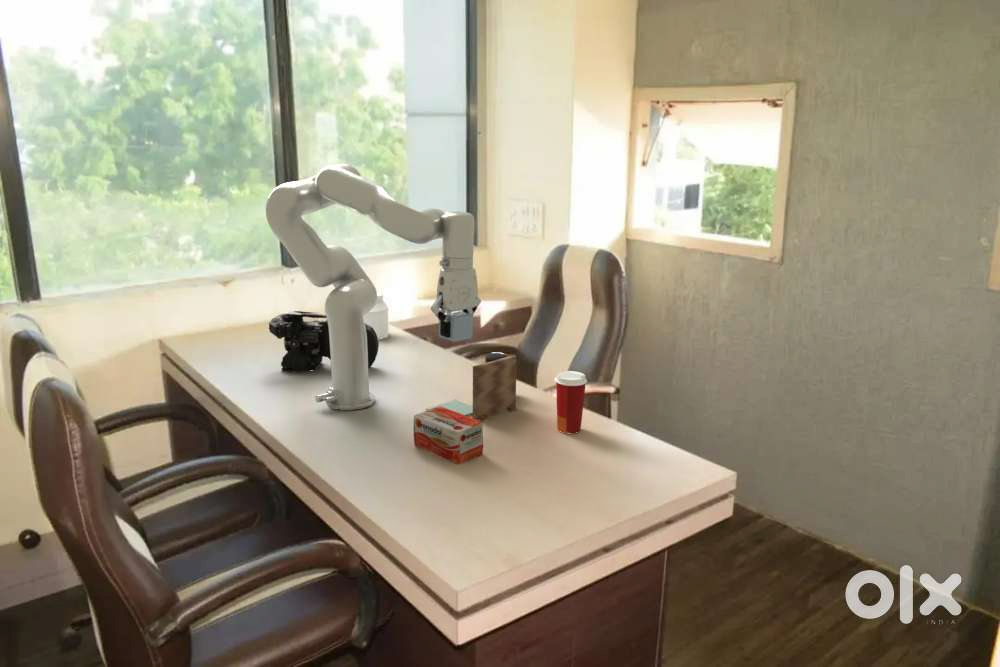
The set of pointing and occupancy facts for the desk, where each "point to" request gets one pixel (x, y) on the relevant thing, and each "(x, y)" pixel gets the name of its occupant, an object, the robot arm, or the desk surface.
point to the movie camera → (310, 340)
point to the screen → (494, 387)
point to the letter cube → (459, 326)
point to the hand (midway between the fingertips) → (455, 333)
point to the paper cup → (570, 400)
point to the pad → (456, 407)
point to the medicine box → (448, 434)
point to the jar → (378, 317)
